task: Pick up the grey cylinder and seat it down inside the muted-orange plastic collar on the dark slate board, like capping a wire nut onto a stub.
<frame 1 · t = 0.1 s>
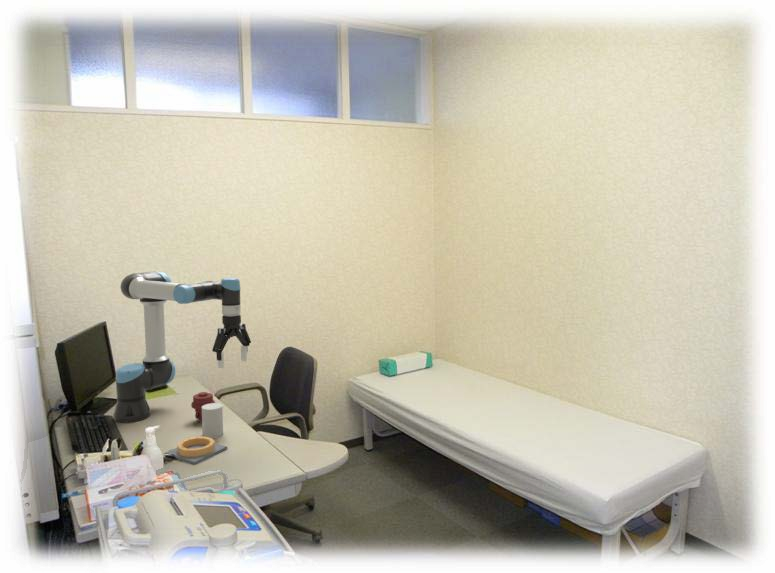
hand: (232, 364, 231), 28 cm above the table, fingers open, 13 cm apart
grey cylinder: (212, 434, 226), on the table
socket board: (196, 452, 208), on the table
mechanical component: (203, 420, 243), on the table
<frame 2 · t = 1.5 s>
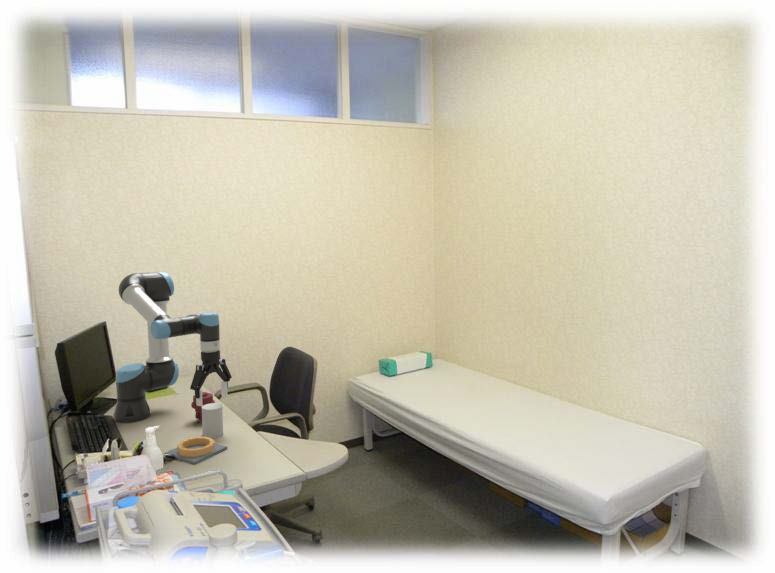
hand: (212, 401, 224), 14 cm above the table, fingers open, 13 cm apart
nothing on the table moved.
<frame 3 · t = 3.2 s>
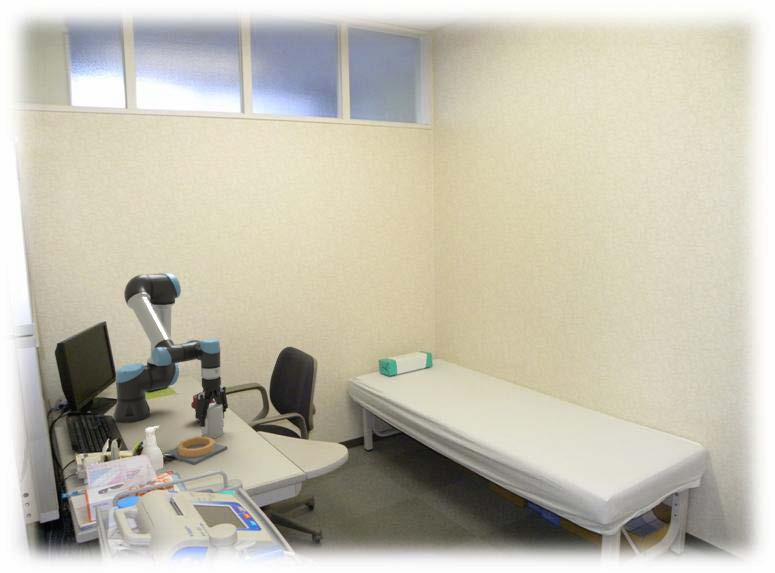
hand: (212, 430, 226), 2 cm above the table, fingers closed on grey cylinder, 8 cm apart
grey cylinder: (212, 434, 226), on the table, touching gripper
everything else where it was.
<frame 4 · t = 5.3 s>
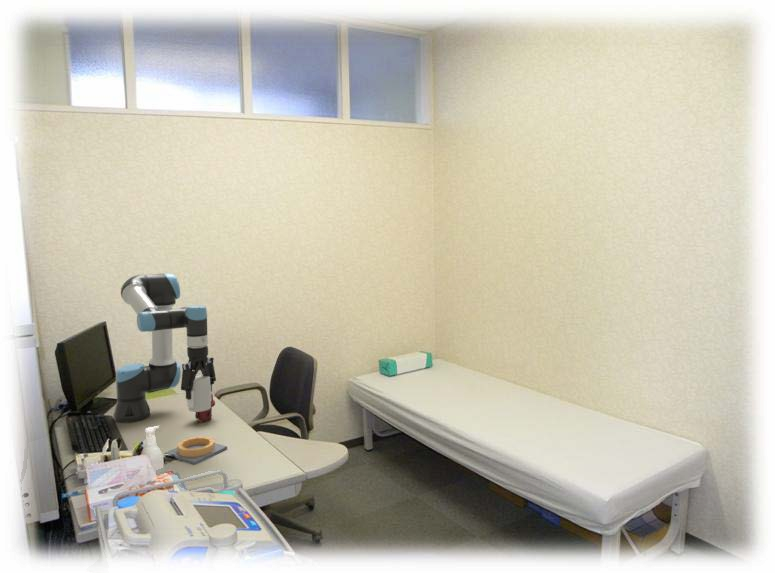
hand: (199, 403, 210), 18 cm above the table, fingers closed on grey cylinder, 8 cm apart
grey cylinder: (199, 408, 210), point 16 cm above the table, touching gripper
everything else where it was.
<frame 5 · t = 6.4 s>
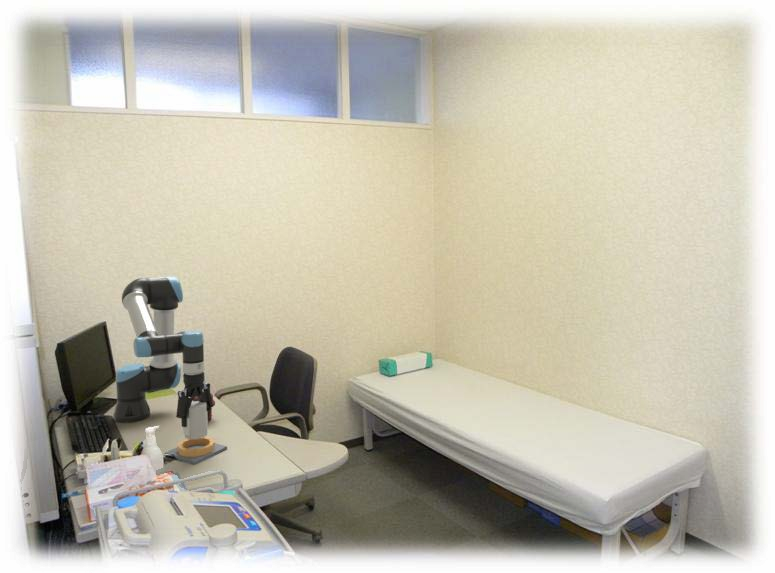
hand: (195, 430, 207), 9 cm above the table, fingers closed on grey cylinder, 8 cm apart
grey cylinder: (196, 435, 208), point 7 cm above the table, touching gripper
everything else where it was.
when the fingers open (6 cm above the table, at t = 7.4 s): grey cylinder drops 3 cm, resting on socket board.
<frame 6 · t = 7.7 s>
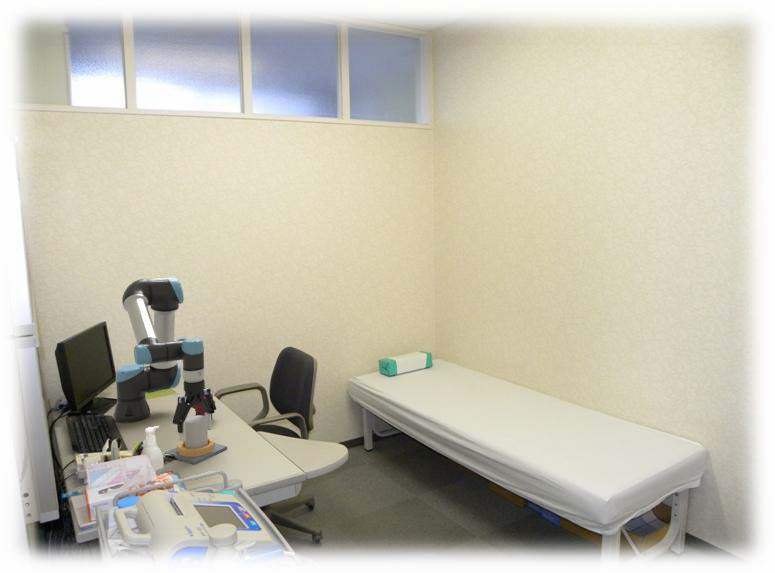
hand: (195, 434, 208), 7 cm above the table, fingers open, 12 cm apart
grey cylinder: (196, 449, 209), point 1 cm above the table, touching socket board
everything else where it was.
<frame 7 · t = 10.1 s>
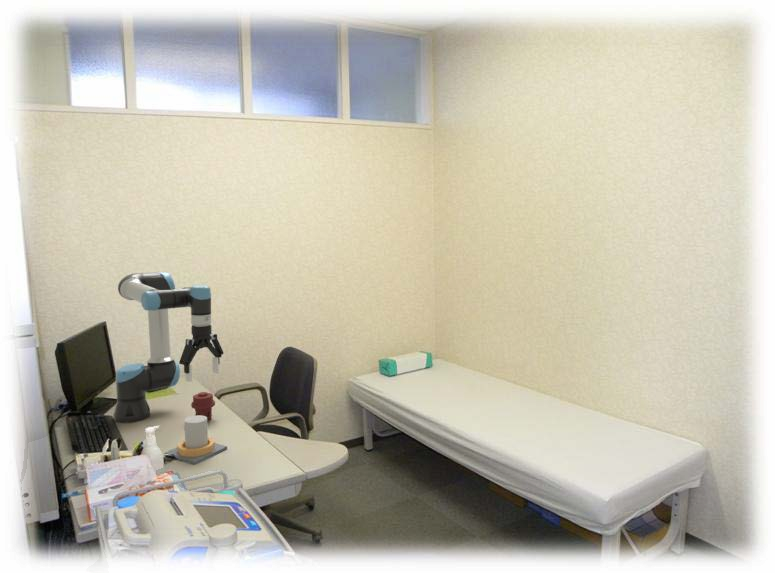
hand: (202, 376, 218), 26 cm above the table, fingers open, 13 cm apart
nothing on the table moved.
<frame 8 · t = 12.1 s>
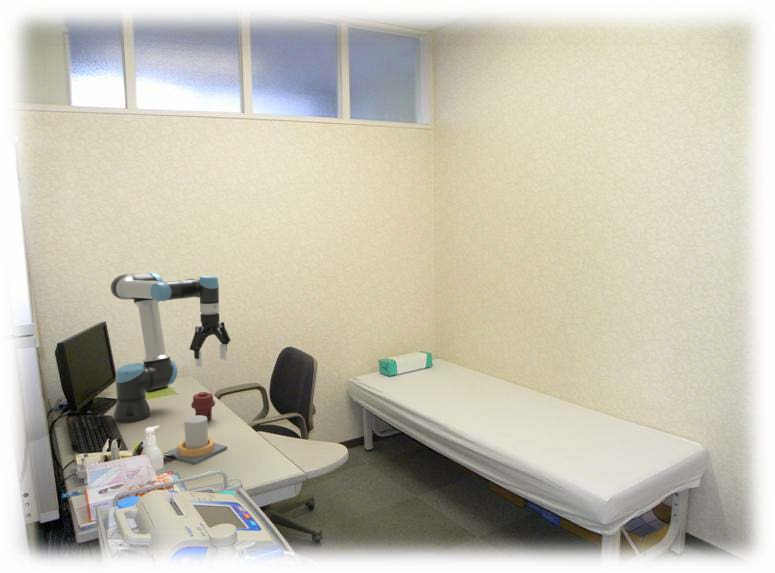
hand: (211, 362, 230), 29 cm above the table, fingers open, 13 cm apart
nothing on the table moved.
at the end: grey cylinder 0.2 cm from the socket board (horizontally); grey cylinder point 0.8 cm above the table; grey cylinder tilted 0° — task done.
